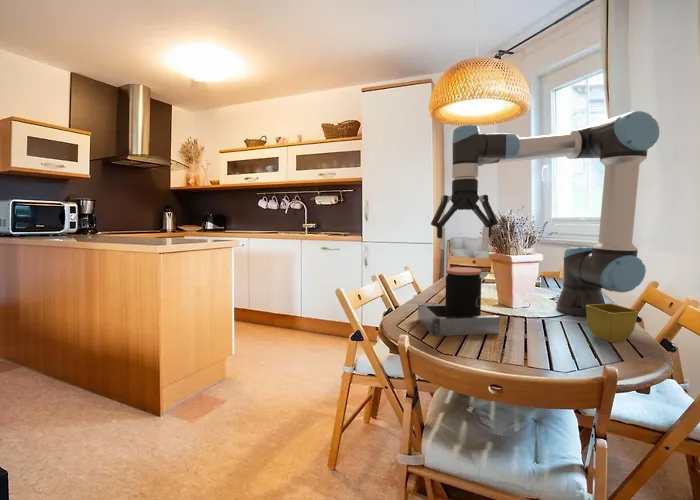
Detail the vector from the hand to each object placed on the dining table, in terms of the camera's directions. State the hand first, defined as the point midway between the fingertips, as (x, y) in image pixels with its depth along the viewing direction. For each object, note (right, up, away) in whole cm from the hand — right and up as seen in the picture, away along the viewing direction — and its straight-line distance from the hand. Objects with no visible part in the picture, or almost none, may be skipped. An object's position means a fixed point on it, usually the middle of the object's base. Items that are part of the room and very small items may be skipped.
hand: (463, 248), depth 113 cm
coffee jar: (0, -25, +2) cm, 25 cm away
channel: (-2, -24, +2) cm, 25 cm away
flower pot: (+37, -26, -11) cm, 46 cm away
